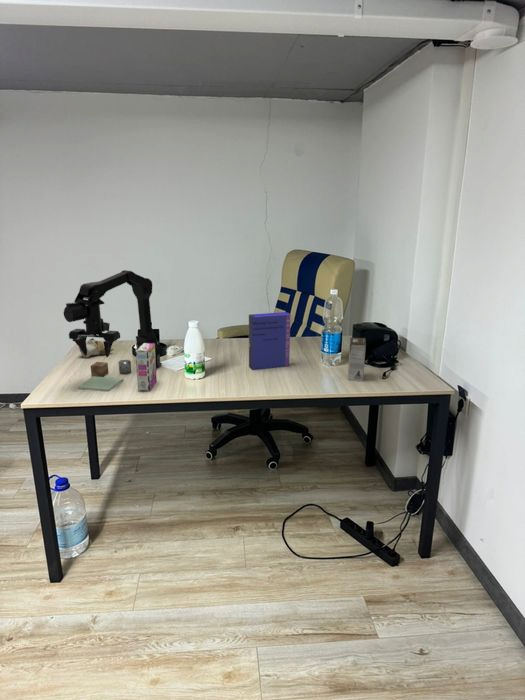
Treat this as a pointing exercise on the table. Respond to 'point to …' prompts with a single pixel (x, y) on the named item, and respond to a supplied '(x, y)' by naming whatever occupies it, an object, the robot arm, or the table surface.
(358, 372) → the coffee box
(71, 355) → the table surface
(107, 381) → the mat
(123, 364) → the metal cylinder
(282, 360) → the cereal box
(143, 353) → the candy bar box
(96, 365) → the walnut block
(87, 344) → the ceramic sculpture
